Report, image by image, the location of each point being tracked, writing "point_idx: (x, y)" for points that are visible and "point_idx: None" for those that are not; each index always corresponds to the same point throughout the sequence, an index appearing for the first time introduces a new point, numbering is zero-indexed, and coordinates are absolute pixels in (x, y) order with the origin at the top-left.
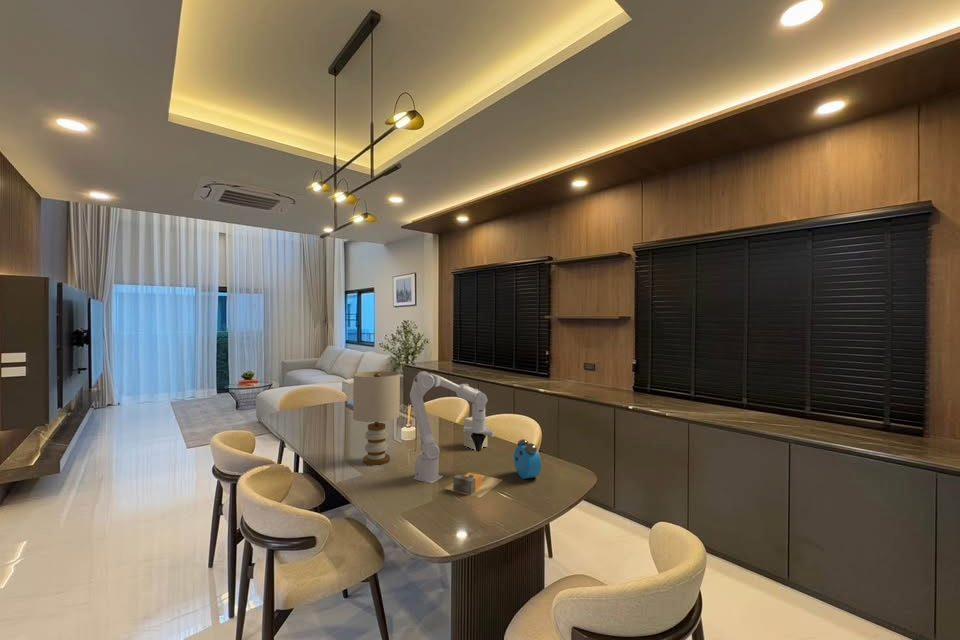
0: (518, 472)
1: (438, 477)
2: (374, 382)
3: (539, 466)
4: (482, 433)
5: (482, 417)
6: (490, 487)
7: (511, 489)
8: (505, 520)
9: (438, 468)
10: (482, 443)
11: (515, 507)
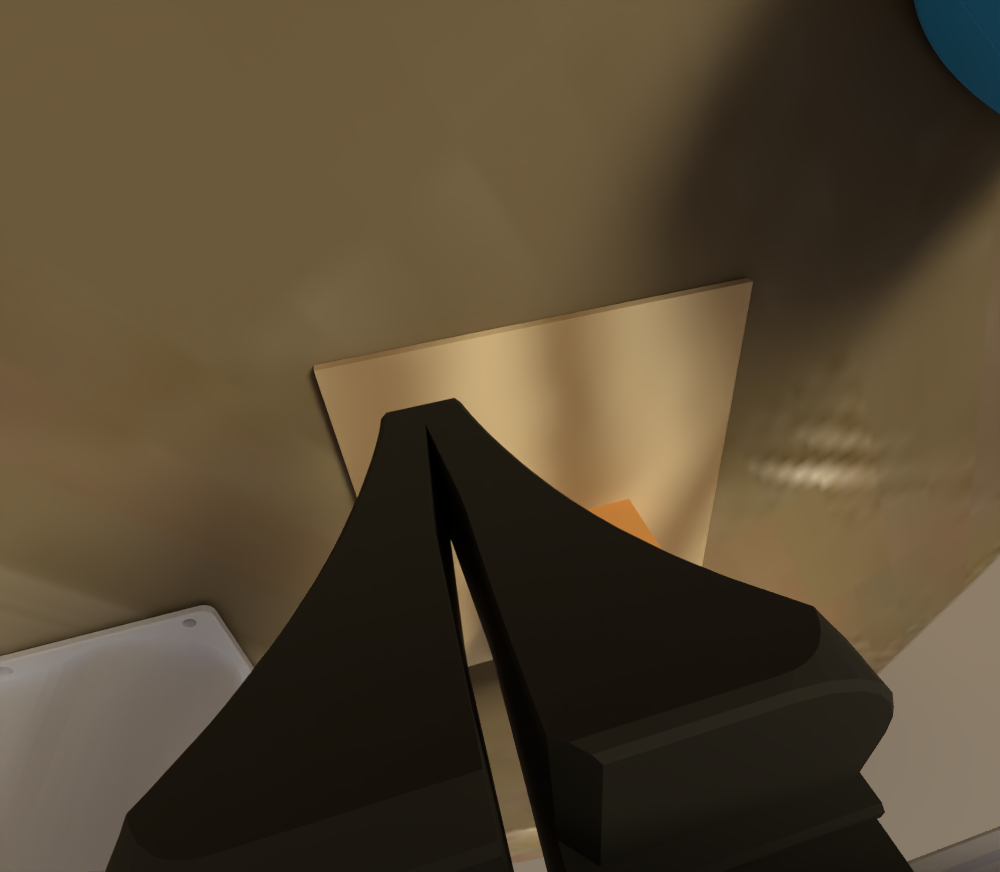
0: (944, 17)
1: (210, 646)
2: None
3: None
4: None
5: None
6: (701, 473)
7: (855, 371)
8: (870, 621)
9: (196, 733)
10: (538, 489)
11: (905, 528)
